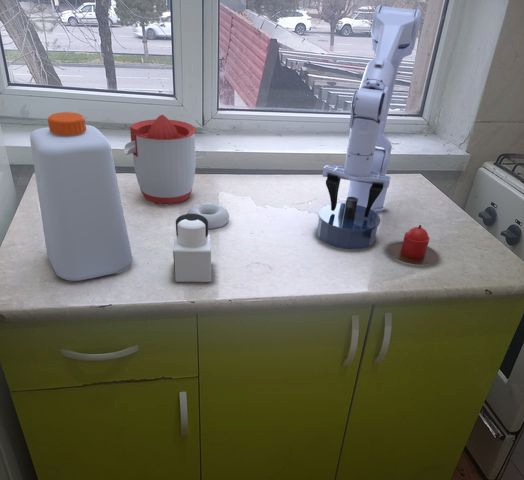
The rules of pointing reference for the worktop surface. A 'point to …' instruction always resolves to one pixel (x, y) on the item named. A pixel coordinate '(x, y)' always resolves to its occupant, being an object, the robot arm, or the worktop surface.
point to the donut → (211, 214)
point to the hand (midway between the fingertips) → (349, 212)
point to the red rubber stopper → (415, 243)
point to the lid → (349, 216)
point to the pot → (345, 237)
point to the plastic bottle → (79, 199)
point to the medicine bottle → (192, 249)
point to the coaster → (427, 259)
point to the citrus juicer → (163, 159)
